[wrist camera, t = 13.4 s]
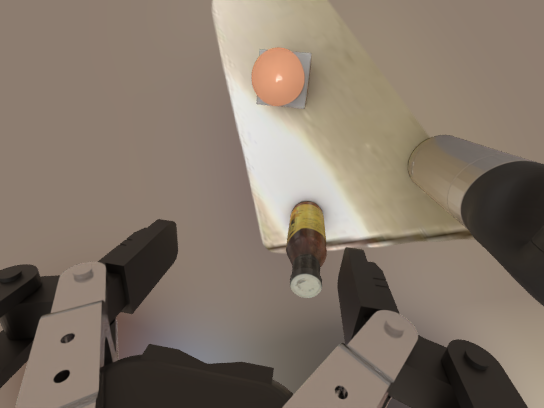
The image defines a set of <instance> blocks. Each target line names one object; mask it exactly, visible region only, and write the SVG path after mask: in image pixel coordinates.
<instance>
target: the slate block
mask: <svg viewBox="0 0 544 408" xmlns="http://www.w3.org/2000/svg"><path fill="white" fill-rule="evenodd" d="M265 51H267V50H266V49H260V51H259V56H260V55H261V54H262V53H264V52H265ZM293 53H294V54H295V55H296V56H297V57H298V59H299V60H300V62H301V64H302V67H303V70H304V73H305V85H304V88H303V91H302V92H301V94H300V95H299V97H298V98H296V99H295V100H294V101H292V102H290V103H288V104H286V105H283V106H281V107H291V108H301V109H304V108H305V104H306V97H307V89H308V81H309V73H310V65H311V53H304V52H293ZM257 104H261V105H269V104H267V103H265V102H263V101H262V100H261V99H260V98H259V97H258V96H257ZM271 106H272V105H271Z"/></svg>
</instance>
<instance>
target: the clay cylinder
mask: <svg viewBox="0 0 544 408" xmlns="http://www.w3.org/2000/svg"><path fill="white" fill-rule="evenodd" d="M252 85H253V88H254V91H255V92H256V94H257V96H258V97H259V98H260V99H261V100H262V101H263V102H265V103H267V104H269V105H272V106H283V105H286V104H288V103H290V102H292V101H294V100H295V99H296V98H298V97H299V95H300V94H301V92H302V91H303V88H304V85H305V73H304V70H303V67H302V64H301V62H300V60H299V59H298V57H297V56H296V55H295V54H294V53H293V52H291V51H290V50H287V49H285V48H272V49H269V50H267V51H265V52H264V53H262V54H261V55H260V56H259V57H258V59H257V60H256V62H255V64H254V67H253V70H252Z"/></svg>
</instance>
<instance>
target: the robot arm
mask: <svg viewBox="0 0 544 408" xmlns="http://www.w3.org/2000/svg"><path fill="white" fill-rule="evenodd" d="M408 172H409V175H410V177H411V179H412V180H413V181H414V182H415V183H416V184H417V185H418V186H419V187H420V188H421V189H422V190H423V191H425V192H426V193H427V194H428V195H429V196H430V197H431V198H433V199H434V200H435V201H436V202H437V203H438V204H439V205H441V206H442V207H443V208H444V209H445V210H446V211H447V212H449V213H450V214H451V215H452V216H453V217H454V218H456V219H457V220H458V221H459V222H460V223H461V224H462V225H464V226H465V227H466V228H467V229H468V230H469V231H470V232H471V234H472V235H473V237H474V238H475V239H476V240H477V241H478V242H479V243H480V244H481V245H482V246H483V247H484V248H485V249H486V250H487V251H488V252H489V253H490V254H491V255H492V256H493V257H494V258H495V259H496V260H497V261H498V262H499V263H500V264H501V265H502V266H503V267H504V268H505V269H506V270H507V271H508V272H509V273H510V274H511V276H512V277H513V278H514V279H515V280H516V281H517V282H518V283H519V284H520V285H521V286H522V287H523V288H524V289H525V290H526V291H527V292H528V293H529V294H530V295H532V297H533V298H535V299H536V300H537V301H538V302H539V303H541V304H542V305H543V306H544V164H541V163H537V162H534V161H531V160H528V159H525V158H521V157H518V156H514V155H511V154H508V153H505V152H502V151H498V150H495V149H491V148H489V147H485V146H482V145H479V144H476V143H473V142H470V141H467V140H463V139H460V138H457V137H454V136H449V135H439V136H434V137H431V138H429V139H427V140H425V141H424V142H422V143H421V144H420V145H419V146H418V147H417V148H416V149H415V150H414V151H413V153H412V154H411V157H410V159H409V163H408ZM177 254H178V243H177V228H176V223H175V222H173V221H167V220H160V219H158V220H156V221H155V222H154V223H153V224H151V225H150V226H149V227H148V228H144V229H141V230H139V231H137V232H134V233H133V234H132V235H131V236H129V237H128V238H127V240H125V241H123V242H122V243H121V244H120V245H118V246H117V247H116V248H114V249H113V250H112V251H111V252H109V253H108V254H107V255H105V256H104V257H103V258H102V259H101V260H99V261H98V262H85V263H81V264H77V265H75V266H72V267H71V268H69V269H67V270H66V271H64V272H63V273H62V274H61V275H60V276H44V277H40V275H39V272H38V269H37V267H36V266H33V265H17V266H12V267H9V268H6V269H3V270H0V323H1V326H2V328H3V331H1V332H0V388H1V387H2V386H3V385H4V384H5V383H6V382H7V381H8V380H9V379H10V378H11V377H12V376H13V375H14V374H15V373H16V372H17V371H18V370H19V369H20V368H21V367H22V366H23V365H24V363H26V362H27V361H28V363H27V367H26V370H25V373H24V377H23V381H22V385H21V388H20V391H19V395H18V399H17V402H16V406H15V408H386V407H387V405H388V403H389V401H390V400H391V398H394V399H396V400H398V401H400V402H402V403H404V404H405V405H407V406H409V407H411V408H528V407H527V405H526V404H525V402H524V401H523V399H522V398H521V396H520V394H519V393H518V391H517V390H516V388H515V387H514V385H513V383H512V382H511V380H510V379H509V377H508V375H507V374H506V373H505V371H504V369H503V368H502V366H501V365H500V363H499V362H498V361H497V360H496V359H495V358H494V357H493V356H492V355H491V354H490V353H489V352H487V351H486V350H484V349H483V348H481V347H480V346H478V345H476V344H474V343H471V342H469V341H465V340H453V341H451V342H450V343H449V345H448V347H447V348H446V347H444V346H442V345H439V344H437V343H434V342H432V341H429V340H427V339H424V338H423V337H421V336H419V335H418V333H417V331H416V328H415V327H414V326H413V324H412V323H411V322H410V321H409V320H407V319H406V318H405V317H404V316H402V315H400V314H399V311H398V309H397V306H396V304H395V301H394V299H393V296H392V294H391V291H390V289H389V286H388V284H387V282H386V279H385V276H384V274H383V271H382V270H381V269H380V268H379V267H378V266H377V265H376V264H375V263H373V262H367V259H366V256H365V253H364V250H362V249H355V248H348V247H346V248H345V250H344V254H343V259H342V263H341V267H340V272H339V276H338V295H339V302H340V309H341V317H342V324H343V332H344V339H345V344H344V343H341V344H339V345H338V346H337V347H336V348H335V350H334V351H333V352H332V353H331V354H330V355H329V356H328V357H327V358H326V359H325V361H324V362H323V363H322V364H321V365H320V366H319V367H318V369H316V371H315V372H314V373H313V374H312V375H311V376H310V377H309V378H308V379H307V381H306V382H305V383H304V384H303V385H302V386H301V387H300V388H299V389H298V391H297V392H296V393H295V394H293V393H292V392H290V391H289V390H288V389H287V388H286V387H285V386H283V385H282V384H280V383H279V382H277V381H275V380H273V379H272V377H273V370H274V368H271V367H265V366H260V365H255V364H250V363H245V362H235V363H216V364H207V363H204V362H202V361H200V360H198V359H196V358H194V357H192V356H190V355H188V354H186V353H184V352H182V351H180V350H178V349H173V348H168V347H162V346H157V345H152V344H149V345H148V347H147V348H146V350H145V351H144V353H143V354H142V355H136V356H130V357H127V358H123V359H120V360H118V332H117V319H116V316H117V315H118V314H119V313H120V312H124V313H129V314H133V313H134V311H135V310H136V309H137V308H138V306H139V305H140V304H141V303H142V301H143V300H144V299H145V298H146V296H147V295H148V294H149V293H150V292H151V290H152V289H153V288H154V287H155V285H156V284H157V283H158V282H159V280H160V279H161V278H162V276H163V275H164V274H165V273H166V272H167V270H168V269H169V268H170V267H171V266H172V264H173V263H174V261H175V260H176V257H177Z"/></svg>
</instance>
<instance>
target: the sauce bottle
mask: <svg viewBox="0 0 544 408" xmlns="http://www.w3.org/2000/svg"><path fill="white" fill-rule="evenodd" d="M286 252H287V255H288V257H289V259H290V261H291V263H292V268H293V271H292V275H291V278H290V287H291V289H292V291H293V292H294V293H295V294H296V295H298V296H300V297H303V298H311V297H314V296H316V295H317V294H319V292H320V291H321V289H322V279H321V276H320V267H321V266H322V265H323V263H324V261H325V259H326V252H327V250H326V236H325V226H324V217H323V213H322V211H321V209H320V208H319V207H318V205H316V204H315V203H313V202H308V201H307V202H301V203H299V204H298V205H296V206H295V207H294V209H293V211H292V213H291V217H290V224H289V231H288V238H287V246H286Z"/></svg>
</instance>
